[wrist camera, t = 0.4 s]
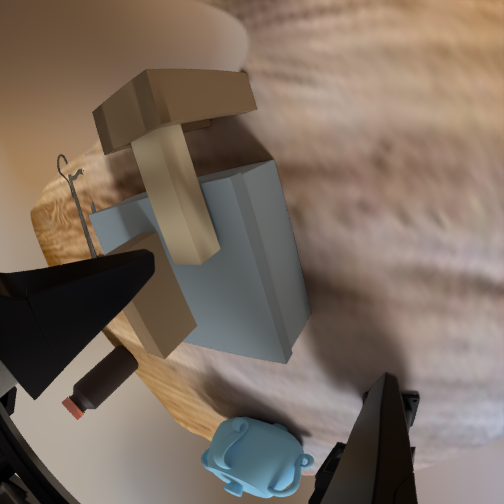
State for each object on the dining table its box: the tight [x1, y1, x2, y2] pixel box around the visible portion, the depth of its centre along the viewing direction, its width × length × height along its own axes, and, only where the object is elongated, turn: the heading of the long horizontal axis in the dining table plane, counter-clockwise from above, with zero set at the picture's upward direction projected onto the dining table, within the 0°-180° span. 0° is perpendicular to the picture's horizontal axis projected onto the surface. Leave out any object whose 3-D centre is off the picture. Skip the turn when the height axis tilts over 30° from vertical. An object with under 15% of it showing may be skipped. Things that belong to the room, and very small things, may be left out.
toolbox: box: [92, 69, 311, 349], centre depth 23 cm, size 21×18×10 cm
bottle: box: [62, 346, 138, 420], centre depth 51 cm, size 7×7×20 cm
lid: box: [89, 172, 293, 364], centre depth 23 cm, size 14×18×7 cm
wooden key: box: [131, 124, 221, 265], centre depth 16 cm, size 10×2×2 cm, turn 18°
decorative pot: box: [201, 416, 314, 498], centre depth 38 cm, size 16×16×14 cm
